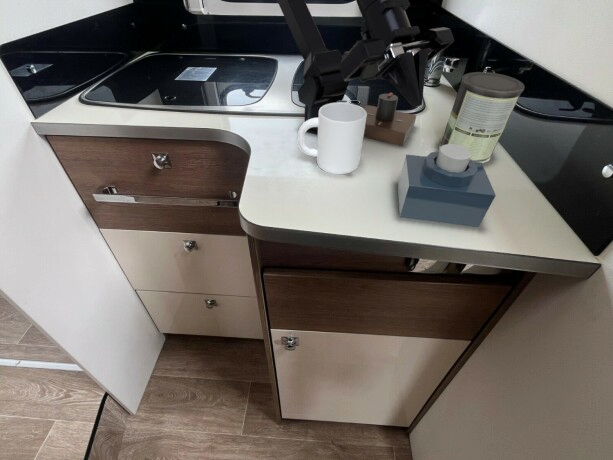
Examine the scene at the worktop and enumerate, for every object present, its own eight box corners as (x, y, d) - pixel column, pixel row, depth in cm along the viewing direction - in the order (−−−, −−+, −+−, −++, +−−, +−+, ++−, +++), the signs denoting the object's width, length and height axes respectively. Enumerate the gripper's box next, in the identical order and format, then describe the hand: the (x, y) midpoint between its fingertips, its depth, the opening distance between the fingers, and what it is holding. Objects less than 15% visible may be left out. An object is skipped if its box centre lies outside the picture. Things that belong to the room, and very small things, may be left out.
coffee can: (428, 143, 68) (450, 73, 58) (468, 137, 70) (495, 69, 61) (459, 168, 61) (489, 94, 51) (502, 161, 63) (539, 88, 54)
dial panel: (349, 133, 71) (351, 119, 69) (364, 116, 77) (366, 104, 75) (402, 146, 67) (405, 132, 65) (413, 127, 73) (416, 114, 71)
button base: (399, 217, 50) (412, 174, 45) (397, 185, 57) (408, 144, 51) (478, 227, 49) (501, 184, 43) (467, 193, 55) (486, 152, 50)
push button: (437, 171, 46) (442, 157, 44) (433, 156, 49) (438, 142, 48) (468, 174, 46) (474, 160, 44) (463, 159, 49) (468, 145, 47)
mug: (296, 174, 58) (296, 120, 51) (297, 151, 64) (298, 101, 57) (361, 176, 58) (369, 123, 51) (356, 153, 64) (364, 102, 57)
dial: (390, 123, 68) (395, 100, 65) (373, 119, 69) (376, 96, 66) (395, 116, 71) (400, 94, 67) (378, 112, 72) (382, 90, 69)
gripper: (390, 36, 58) (420, 115, 59) (307, 49, 51) (343, 140, 52) (437, -12, 48) (473, 85, 49) (342, -5, 41) (386, 110, 42)
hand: (418, 106), depth 48 cm, fingers closed
